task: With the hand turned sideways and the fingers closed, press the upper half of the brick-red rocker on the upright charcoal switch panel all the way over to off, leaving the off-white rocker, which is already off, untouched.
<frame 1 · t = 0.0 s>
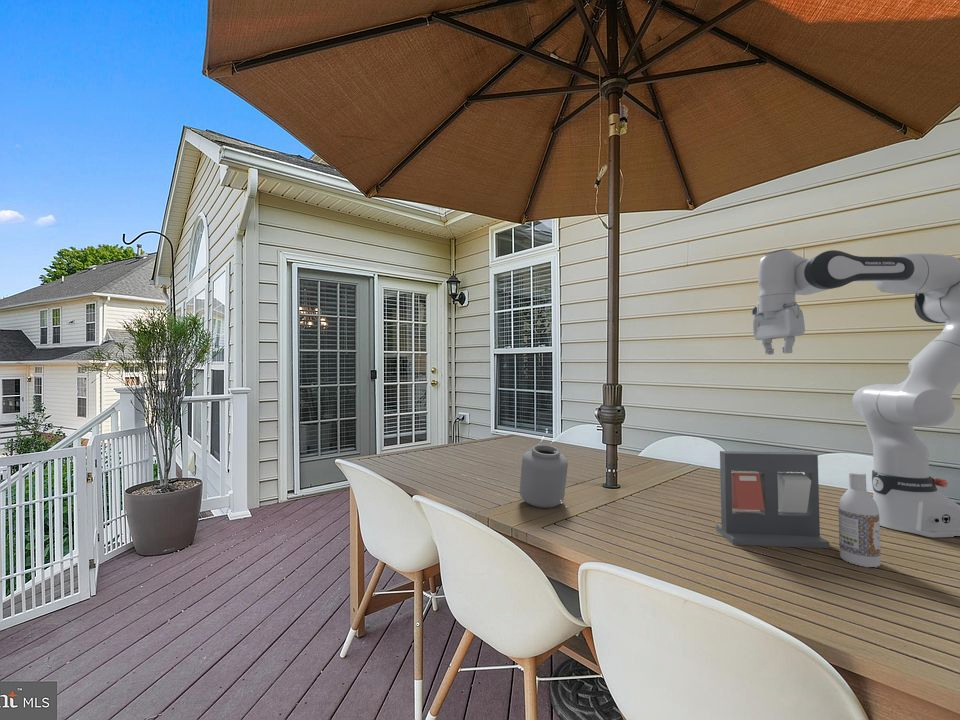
hand: (778, 354, 124), 48 cm above the table, tool pointing down, fingers open, 8 cm apart
grey rocker: (791, 492, 110), point 12 cm above the table, hinge at -14.0°
switch panel: (769, 538, 111), on the table
bath foam: (859, 562, 97), on the table
red rocker: (745, 491, 112), point 12 cm above the table, hinge at 14.0°
jar: (545, 505, 140), on the table
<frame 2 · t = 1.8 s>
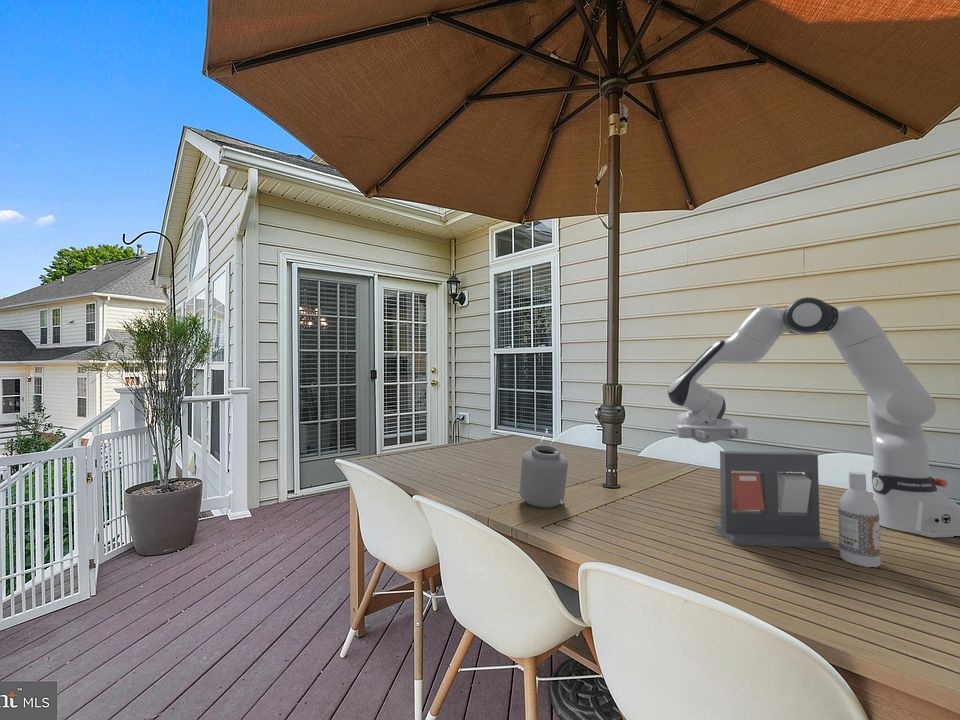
hand: (720, 435, 127), 24 cm above the table, tool horizontal, fingers open, 6 cm apart
nothing on the table moved.
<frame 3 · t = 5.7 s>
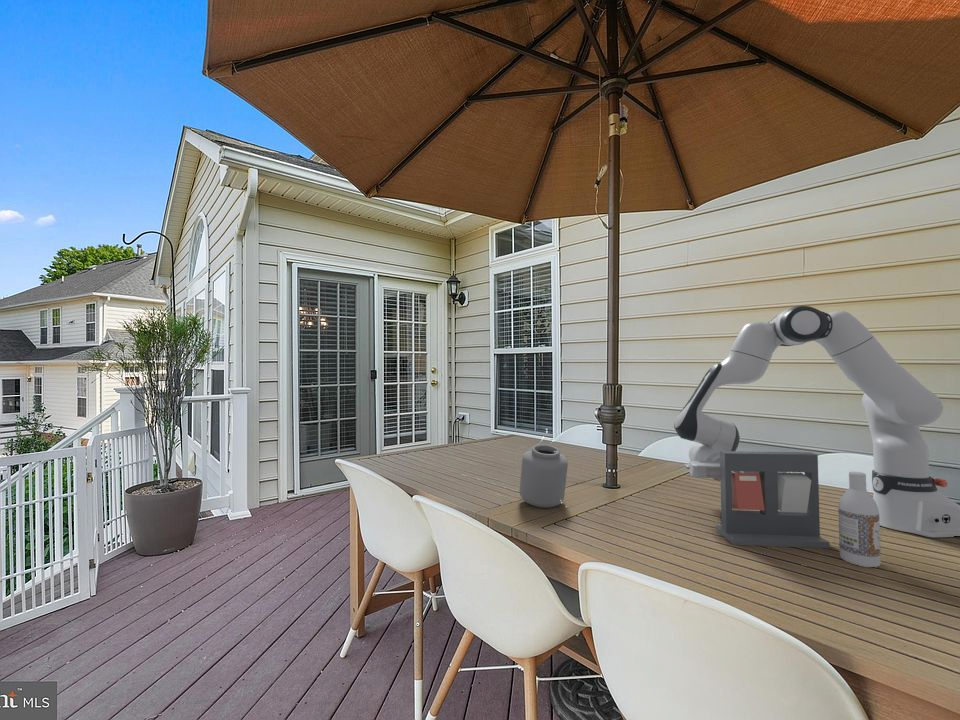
hand: (740, 476, 115), 15 cm above the table, tool horizontal, fingers closed, pressing on red rocker
red rocker: (745, 491, 112), point 12 cm above the table, hinge at 13.9°, touching gripper
everything else where it was.
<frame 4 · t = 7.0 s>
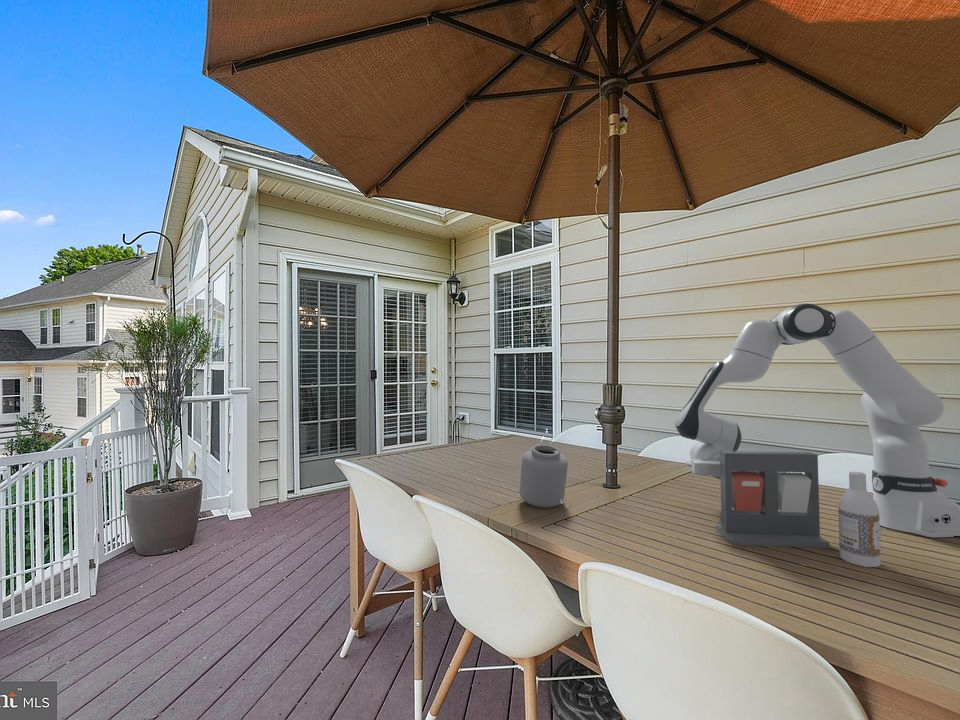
hand: (742, 473, 113), 16 cm above the table, tool horizontal, fingers closed, pressing on red rocker
red rocker: (745, 491, 112), point 12 cm above the table, hinge at -13.0°, touching gripper
everything else where it was.
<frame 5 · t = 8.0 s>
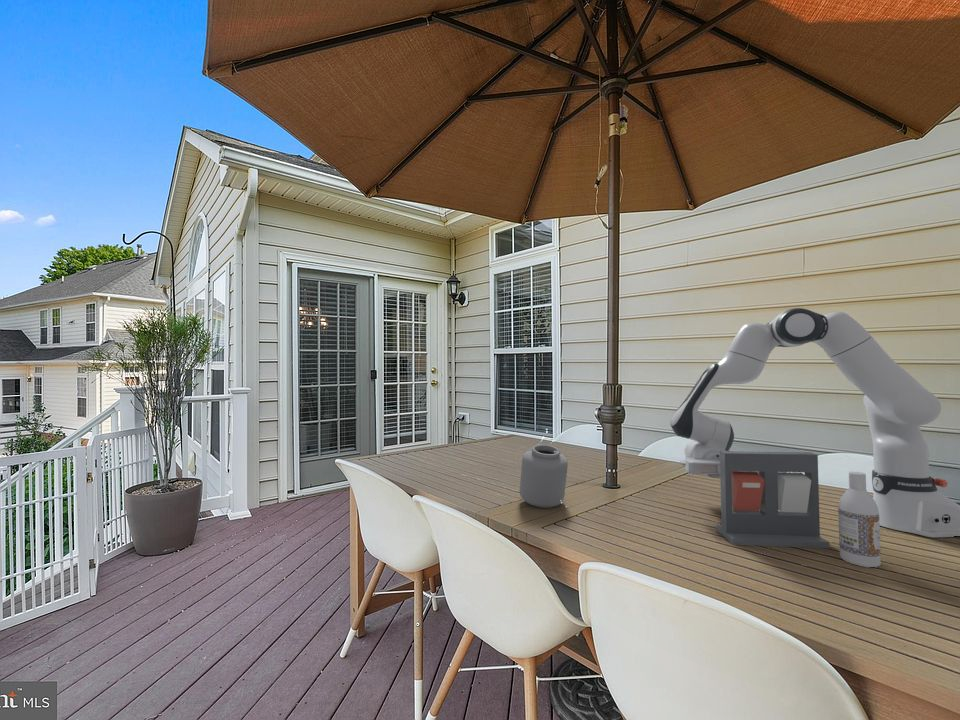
hand: (734, 473, 118), 15 cm above the table, tool horizontal, fingers closed
red rocker: (745, 491, 112), point 12 cm above the table, hinge at -19.0°
everything else where it was.
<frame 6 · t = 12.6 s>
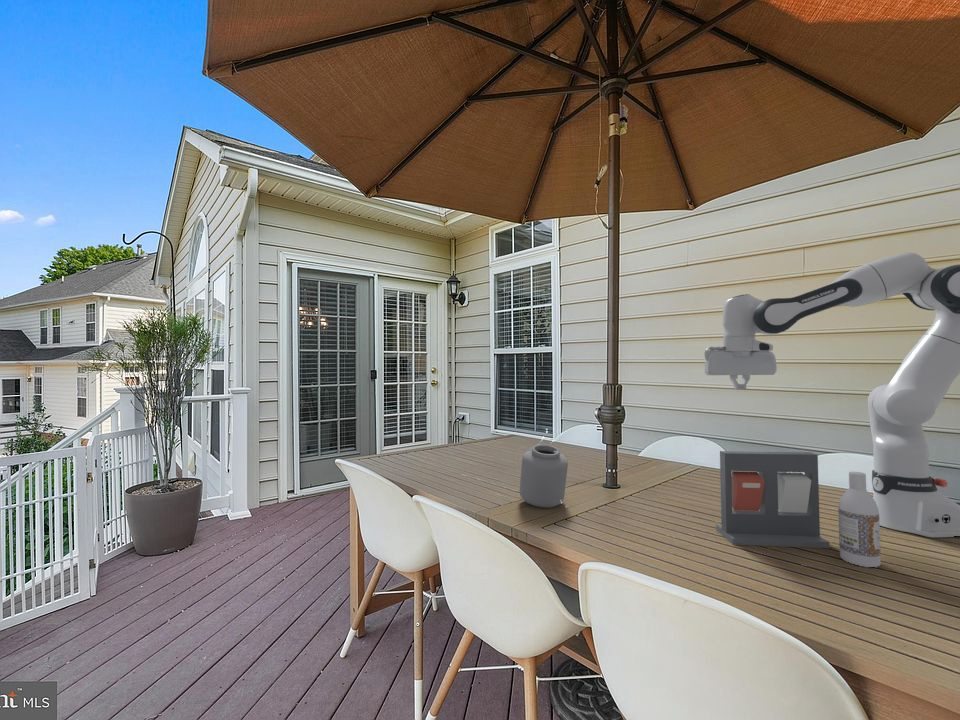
hand: (740, 389, 137), 37 cm above the table, tool pointing down, fingers closed
red rocker: (745, 491, 112), point 12 cm above the table, hinge at -19.7°
everything else where it was.
at the end: red rocker at -20° (first picture: +14°); grey rocker at -14° (first picture: -14°) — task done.
